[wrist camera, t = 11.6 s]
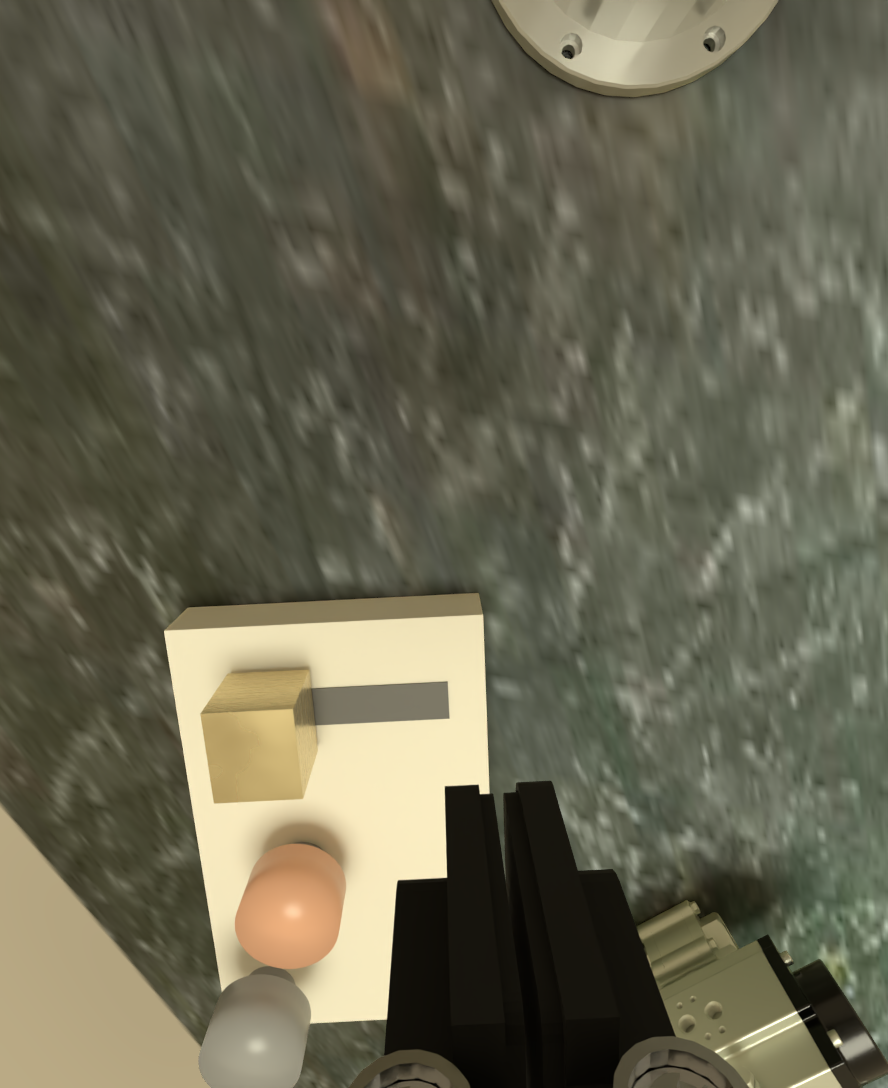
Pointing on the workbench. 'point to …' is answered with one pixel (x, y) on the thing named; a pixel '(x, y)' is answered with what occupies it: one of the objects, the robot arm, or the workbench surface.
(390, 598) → the control panel
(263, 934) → the terracotta button
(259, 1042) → the grey button
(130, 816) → the workbench surface
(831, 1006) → the pneumatic valve
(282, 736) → the brass slider
